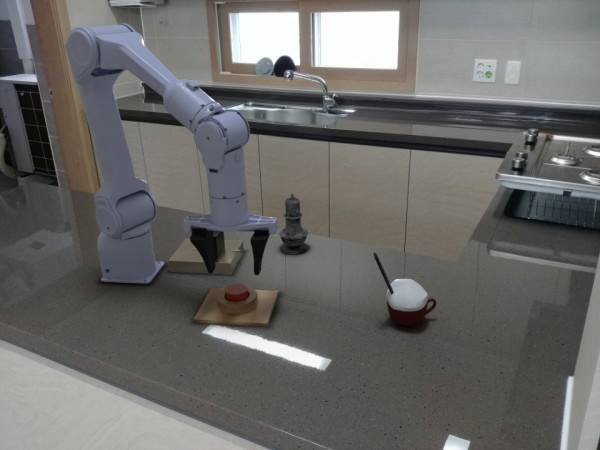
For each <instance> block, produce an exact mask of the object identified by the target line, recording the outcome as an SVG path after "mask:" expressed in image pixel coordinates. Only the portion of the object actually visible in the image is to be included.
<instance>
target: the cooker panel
mask: <svg viewBox="0 0 600 450" xmlns="http://www.w3.org/2000/svg"><path fill="white" fill-rule="evenodd" d="M224 241H225V245H224V247H223V248H222V250H221V252H220V253H219V255H218V256H215V261H216V268H215V270H214V271H213V273H208V271H207V268H206V265H205V263H204V261H203V259H202V257H201V255H200V253H199V252H198V250H197V249H196V248H195V246H194V245H193V244H192V243H191V241H190V237H189V238H188V237H186V238H185V239H184V240H183V241H182V243H180V245H179V246H178V248H177V249H176V250H175V251H174V253H173V254H172V255H171V257H170V258H169V259H168V267H169V273H182V274H183V273H184V274H185V273H186V274H204V275H205V274H206V275H224V276H225V275H228V276H232V274H233V273H234V271H235V269H236V267H237V265H238V264H239V262H240V260H241V257H242V256H243V254H244V252H245V247H244V240H243V239H224Z"/></svg>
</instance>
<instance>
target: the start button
mask: <svg viewBox="0 0 600 450" xmlns="http://www.w3.org/2000/svg"><path fill="white" fill-rule="evenodd" d="M247 286H248V285H247V284H244V283H232V284H229V285H228V286H226V287H227V288H226V287H225V288H226V289H225V292H226V299H227V300H228V301H230V302H239V301H243V300H245V299H247V298H248V289H247Z"/></svg>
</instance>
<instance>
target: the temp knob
mask: <svg viewBox="0 0 600 450" xmlns="http://www.w3.org/2000/svg"><path fill="white" fill-rule="evenodd" d="M224 240H225V232H224V231H213V245H214V254H215V256H218V255H219V253H220V252H221V250H222V248H223V247H224V245H225V241H224Z"/></svg>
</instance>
